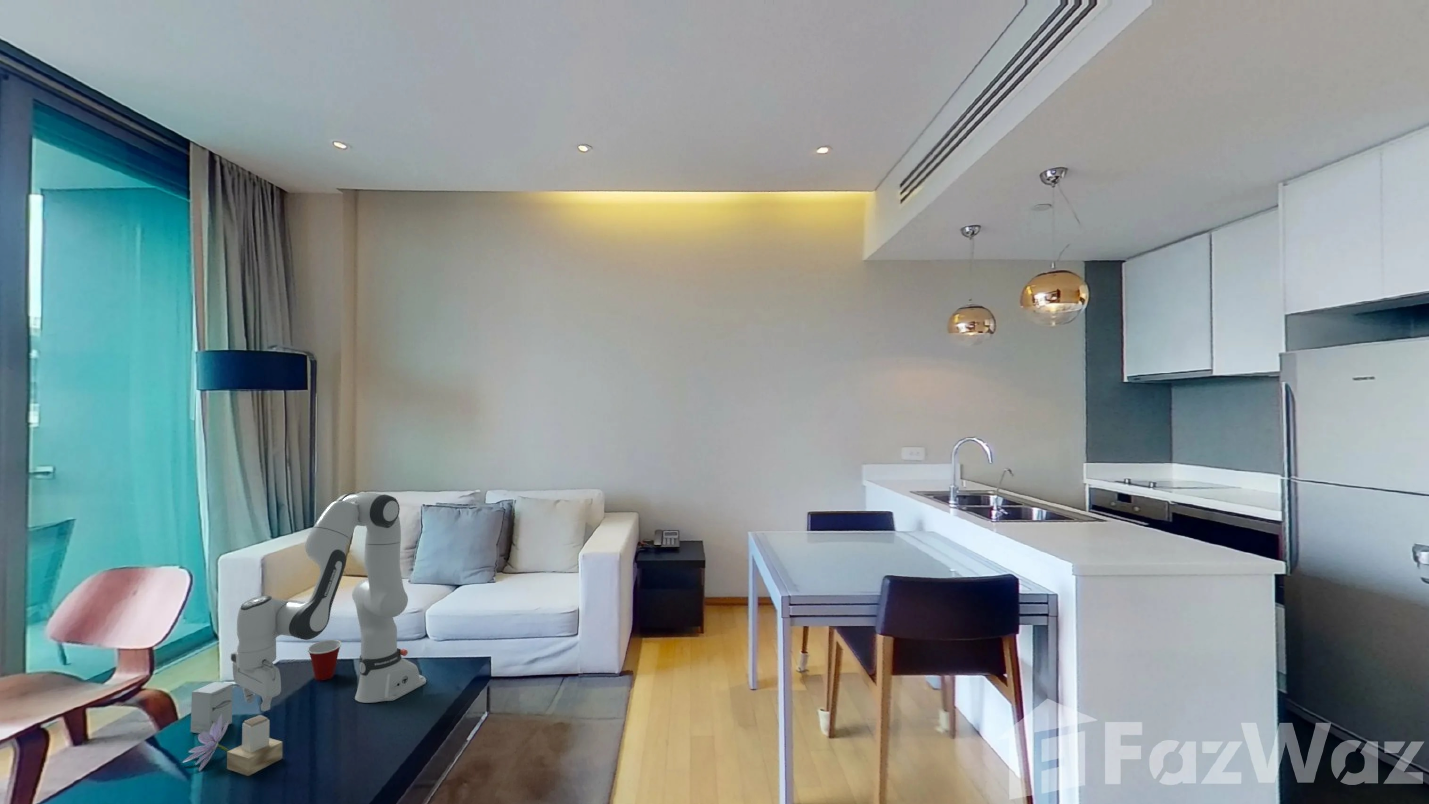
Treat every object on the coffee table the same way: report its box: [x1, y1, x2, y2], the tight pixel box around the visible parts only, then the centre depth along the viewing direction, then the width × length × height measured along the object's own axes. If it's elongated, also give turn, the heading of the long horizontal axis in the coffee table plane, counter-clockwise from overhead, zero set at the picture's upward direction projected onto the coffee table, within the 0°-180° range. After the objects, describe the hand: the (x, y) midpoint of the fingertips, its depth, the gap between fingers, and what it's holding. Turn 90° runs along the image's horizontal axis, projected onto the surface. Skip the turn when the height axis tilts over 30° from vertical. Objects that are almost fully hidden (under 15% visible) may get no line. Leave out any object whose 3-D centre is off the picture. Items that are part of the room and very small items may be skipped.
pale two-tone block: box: [241, 714, 270, 753], centre depth 171 cm, size 5×5×8 cm
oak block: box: [226, 737, 283, 777], centre depth 171 cm, size 9×9×5 cm
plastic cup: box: [306, 639, 343, 681], centre depth 226 cm, size 11×11×12 cm
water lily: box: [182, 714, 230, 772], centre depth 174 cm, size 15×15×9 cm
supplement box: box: [190, 681, 234, 734], centre depth 190 cm, size 7×7×13 cm
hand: (257, 705), depth 171 cm, fingers open, 8 cm apart
